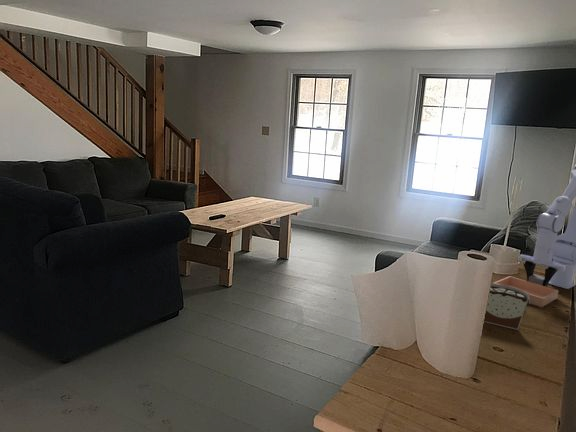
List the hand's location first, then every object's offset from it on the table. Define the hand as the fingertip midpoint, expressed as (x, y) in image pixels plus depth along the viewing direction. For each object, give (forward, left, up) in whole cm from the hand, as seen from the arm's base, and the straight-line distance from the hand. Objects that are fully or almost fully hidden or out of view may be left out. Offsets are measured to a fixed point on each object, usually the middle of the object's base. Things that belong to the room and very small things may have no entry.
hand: (536, 285), depth 165 cm
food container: (+42, +5, -2) cm, 42 cm away
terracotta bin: (+11, 0, -1) cm, 11 cm away
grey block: (0, 0, -1) cm, 1 cm away
